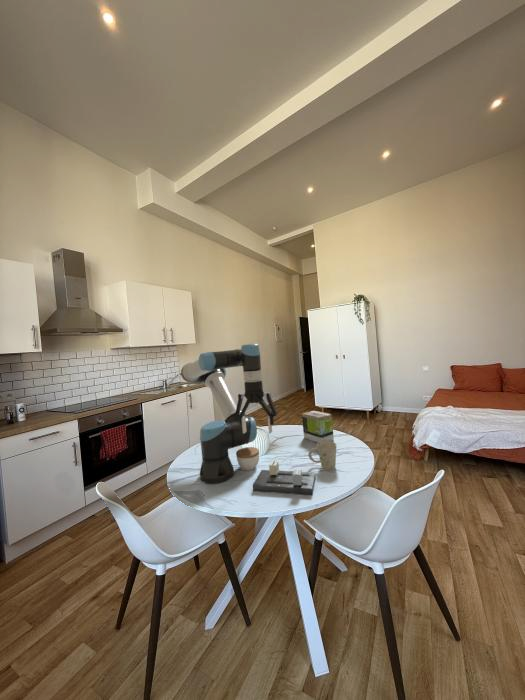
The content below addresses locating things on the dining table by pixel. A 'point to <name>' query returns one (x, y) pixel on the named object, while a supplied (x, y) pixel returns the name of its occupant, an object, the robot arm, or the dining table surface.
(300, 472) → the fader right
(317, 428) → the tea box
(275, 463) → the fader left
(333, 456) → the mug
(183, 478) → the dining table surface
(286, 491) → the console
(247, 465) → the lidded jar
